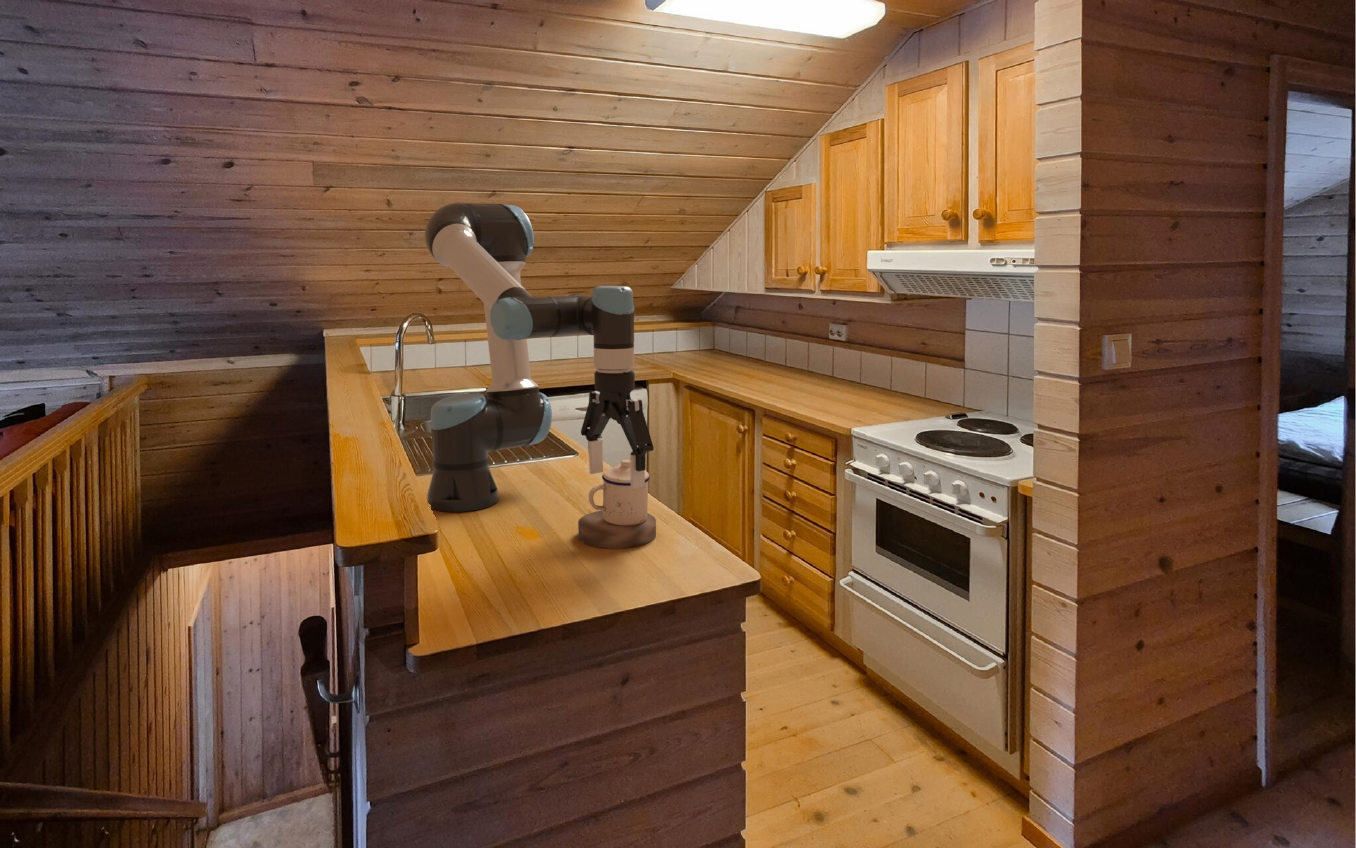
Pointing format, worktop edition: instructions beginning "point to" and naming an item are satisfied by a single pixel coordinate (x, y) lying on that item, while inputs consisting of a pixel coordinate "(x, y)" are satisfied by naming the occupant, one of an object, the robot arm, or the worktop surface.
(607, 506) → the teacup with lid
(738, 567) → the worktop surface
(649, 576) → the worktop surface
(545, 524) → the worktop surface
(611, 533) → the walnut stand
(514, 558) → the worktop surface
